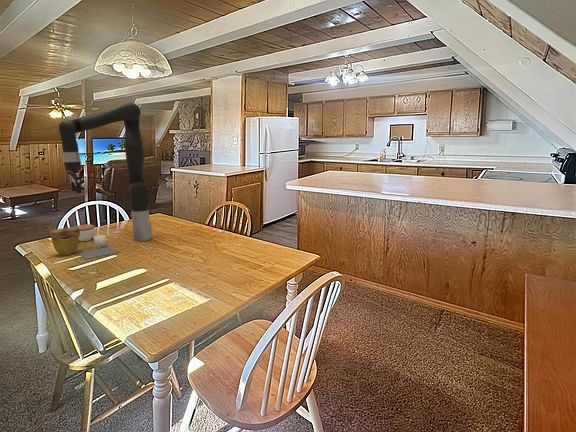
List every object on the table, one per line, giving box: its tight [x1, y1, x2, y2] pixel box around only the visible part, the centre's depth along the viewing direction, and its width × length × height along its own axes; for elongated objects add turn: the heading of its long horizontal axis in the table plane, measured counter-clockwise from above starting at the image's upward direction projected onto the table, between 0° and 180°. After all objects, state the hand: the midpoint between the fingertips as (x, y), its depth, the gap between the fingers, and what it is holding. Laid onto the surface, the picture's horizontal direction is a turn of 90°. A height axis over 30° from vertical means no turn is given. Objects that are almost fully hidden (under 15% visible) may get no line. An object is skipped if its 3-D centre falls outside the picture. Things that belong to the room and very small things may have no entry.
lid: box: [49, 226, 80, 241], centre depth 185 cm, size 12×6×4 cm, turn 131°
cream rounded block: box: [92, 234, 108, 249], centre depth 198 cm, size 6×6×6 cm
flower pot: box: [50, 236, 80, 256], centre depth 186 cm, size 9×9×9 cm
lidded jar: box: [74, 223, 95, 242], centre depth 209 cm, size 11×11×9 cm
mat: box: [78, 246, 120, 261], centre depth 188 cm, size 16×12×1 cm
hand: (76, 192), depth 193 cm, fingers open, 8 cm apart
